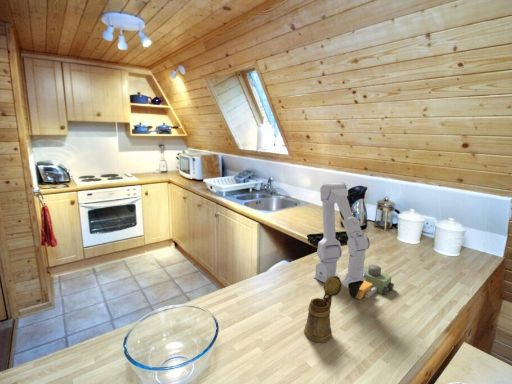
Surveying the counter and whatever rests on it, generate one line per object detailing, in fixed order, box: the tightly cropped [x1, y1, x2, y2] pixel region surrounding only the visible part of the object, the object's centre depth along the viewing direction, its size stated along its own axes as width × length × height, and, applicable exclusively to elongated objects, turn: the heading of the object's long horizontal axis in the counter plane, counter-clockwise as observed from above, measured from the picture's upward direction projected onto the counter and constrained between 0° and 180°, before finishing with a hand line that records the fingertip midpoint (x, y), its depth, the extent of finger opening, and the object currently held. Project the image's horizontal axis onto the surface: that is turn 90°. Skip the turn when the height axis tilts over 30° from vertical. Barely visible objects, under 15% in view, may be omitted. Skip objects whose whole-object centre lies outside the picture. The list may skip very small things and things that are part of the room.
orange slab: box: [355, 281, 373, 300], centre depth 120 cm, size 8×6×4 cm
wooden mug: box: [303, 275, 342, 344], centre depth 96 cm, size 9×14×18 cm, turn 130°
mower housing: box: [364, 264, 395, 299], centre depth 124 cm, size 16×14×8 cm
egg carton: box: [306, 230, 349, 247], centre depth 177 cm, size 18×30×4 cm, turn 118°
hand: (353, 296), depth 116 cm, fingers closed
